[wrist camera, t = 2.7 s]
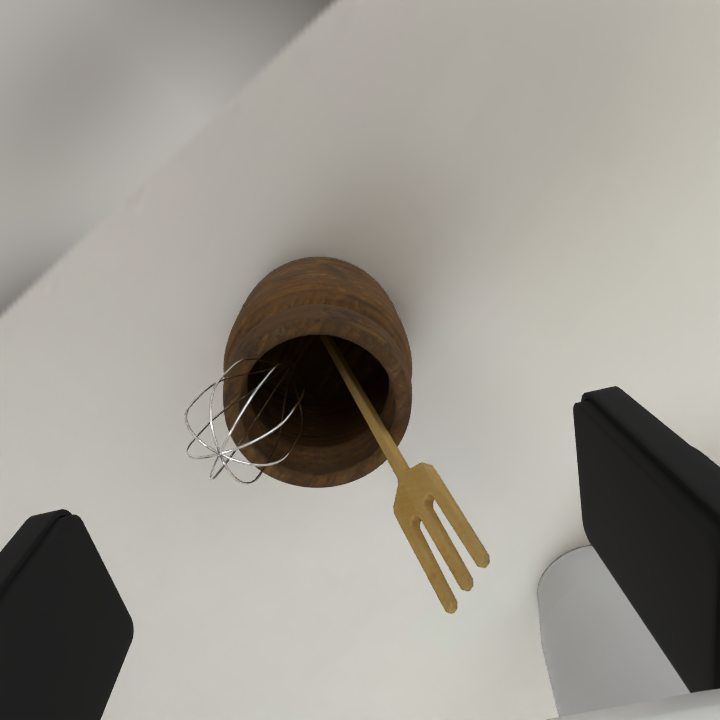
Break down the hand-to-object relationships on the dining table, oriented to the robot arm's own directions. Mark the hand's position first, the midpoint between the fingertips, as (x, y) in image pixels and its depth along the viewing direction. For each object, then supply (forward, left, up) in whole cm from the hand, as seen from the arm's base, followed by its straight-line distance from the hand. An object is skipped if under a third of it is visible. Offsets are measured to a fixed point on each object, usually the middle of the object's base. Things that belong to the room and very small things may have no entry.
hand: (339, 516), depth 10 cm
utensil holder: (0, 0, -12) cm, 12 cm away
